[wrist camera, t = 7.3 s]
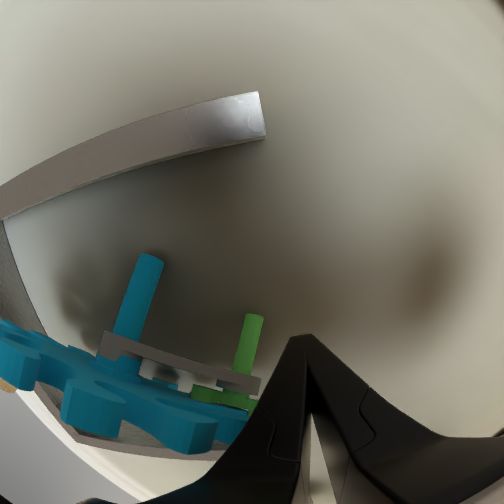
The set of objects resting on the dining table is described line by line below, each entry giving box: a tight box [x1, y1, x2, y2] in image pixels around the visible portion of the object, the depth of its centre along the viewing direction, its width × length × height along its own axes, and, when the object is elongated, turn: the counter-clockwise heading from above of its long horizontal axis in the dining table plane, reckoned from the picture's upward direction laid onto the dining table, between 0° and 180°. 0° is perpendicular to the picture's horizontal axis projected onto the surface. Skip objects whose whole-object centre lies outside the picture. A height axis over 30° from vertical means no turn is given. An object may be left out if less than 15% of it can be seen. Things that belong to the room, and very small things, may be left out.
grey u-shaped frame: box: [0, 91, 266, 461], centre depth 10 cm, size 15×21×5 cm
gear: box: [0, 254, 264, 455], centre depth 9 cm, size 11×6×10 cm
